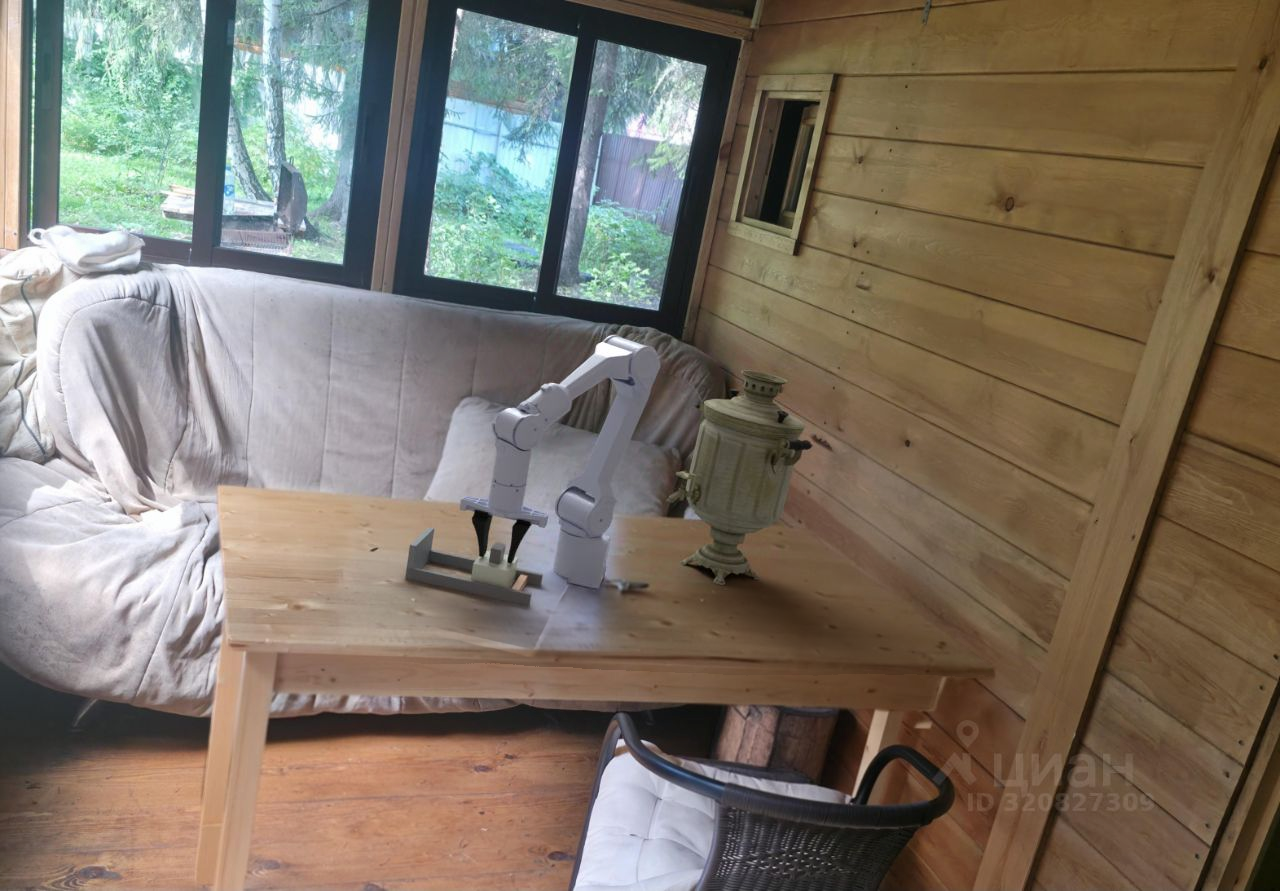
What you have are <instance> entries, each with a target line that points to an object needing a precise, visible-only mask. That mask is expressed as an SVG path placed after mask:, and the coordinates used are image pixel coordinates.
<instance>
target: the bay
mask: <svg viewBox="0 0 1280 891" xmlns="http://www.w3.org/2000/svg"><path fill="white" fill-rule="evenodd" d="M434 534H435V527H431V526H428V527H427V528H425V530H424V531H423V532H422V533H421V534H420V535H419V536H417V537H416V538H415V539H414V540H413V541H412V542H411V543H410V544H409V549H408V556H407V562H406V570H405V576H404V579H406V580H410V581H416V582H420V583H425V584H430V585H433V586H437V587H442V588H446V589H451V590H456V591H460V592H465V593H468V594H473V595H479V596H482V597H487V598H493V599H497V600H502V601H505V602H510V603H515V604H519V605H523V606H528V607H529V606H530V605H531V600H532V599H531V598H532V593H533V592H528V591H524V590H523V589H524V588H525V586H526V585H527V584H530V585H535V586H538V587H541V585H542V583H543V582H542V581H543V576H544V573H541V572H536V571H531V570H528V569H527V570H526V569H523V568H522V569H521V568H516V574H515V580H514V583H513V584H514V585H512V586H511V587H510V588H506V587H502V586H497V585H493V584H488V583H484V582H479V581H475V580H471V578H466V577H461V576H457V575H456V576H455V575H452V574H447V573H442V572H438V571H435V570H429V569H425V568H424V567H425V566H426V565H427V563H428V562H429V563H434V564H438V565H444V566H449V567H453V568H458V569H461V570H465V571H470V572H472V569H473V563H474V562H475V561H476V560H477V558H472V557H468V556H463V555H458V554H456V553H455V554H454V553H449V552H445V551H440V550H437V549H432V547H433V542H434V541H433V539H434Z"/></svg>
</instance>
